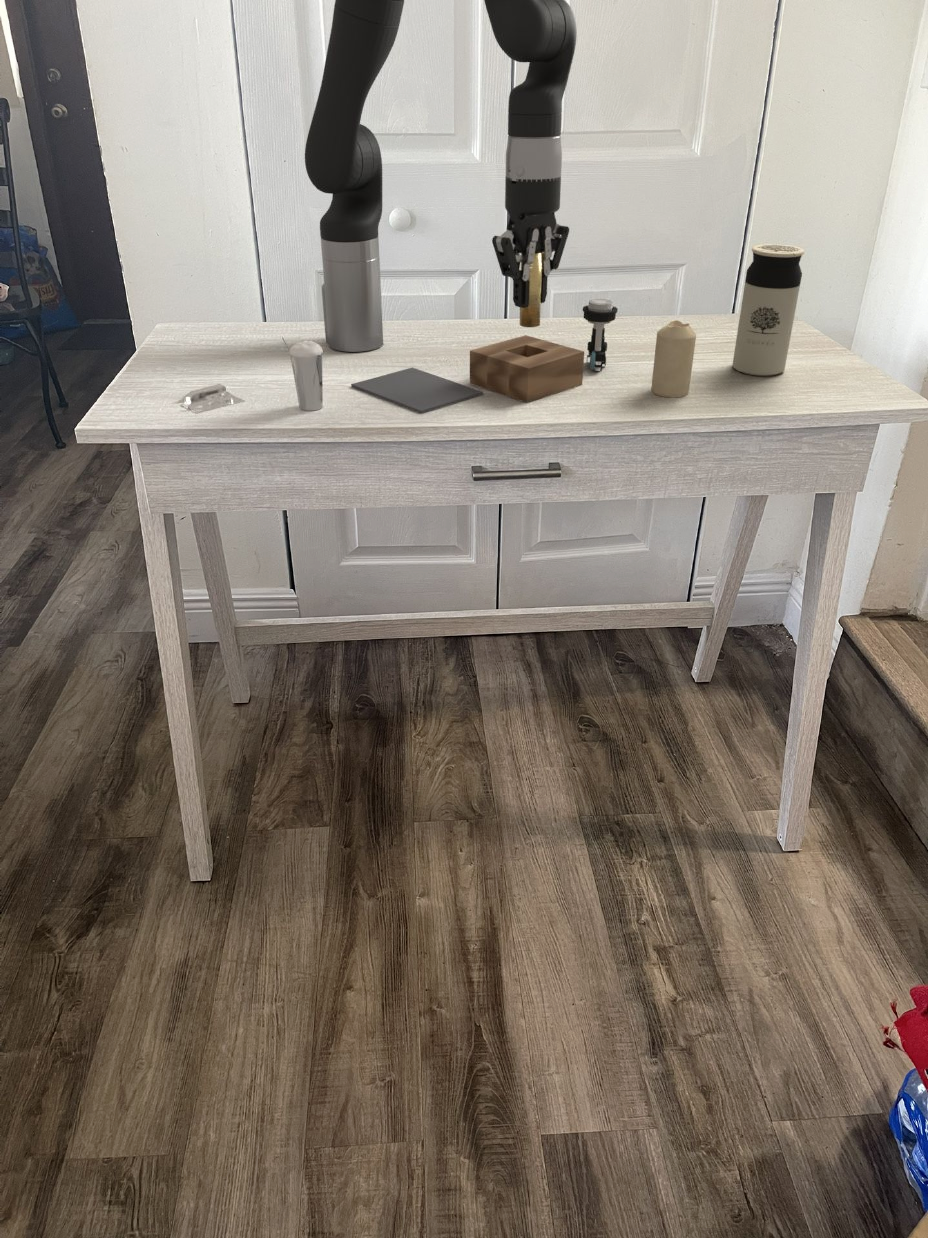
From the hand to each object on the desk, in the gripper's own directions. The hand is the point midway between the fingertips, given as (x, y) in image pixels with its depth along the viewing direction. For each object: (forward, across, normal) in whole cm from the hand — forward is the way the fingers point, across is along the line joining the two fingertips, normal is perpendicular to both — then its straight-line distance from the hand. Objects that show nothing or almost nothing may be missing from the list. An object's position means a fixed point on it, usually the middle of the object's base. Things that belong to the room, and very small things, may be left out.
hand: (529, 303), depth 136 cm
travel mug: (+12, -32, +20) cm, 39 cm away
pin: (+3, 0, 0) cm, 3 cm away
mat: (+12, +14, -9) cm, 20 cm away
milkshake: (+12, +30, -14) cm, 35 cm away
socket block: (+12, 0, 0) cm, 12 cm away
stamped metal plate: (+12, +39, -26) cm, 49 cm away
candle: (+12, -13, +17) cm, 24 cm away
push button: (+12, -14, +2) cm, 18 cm away
